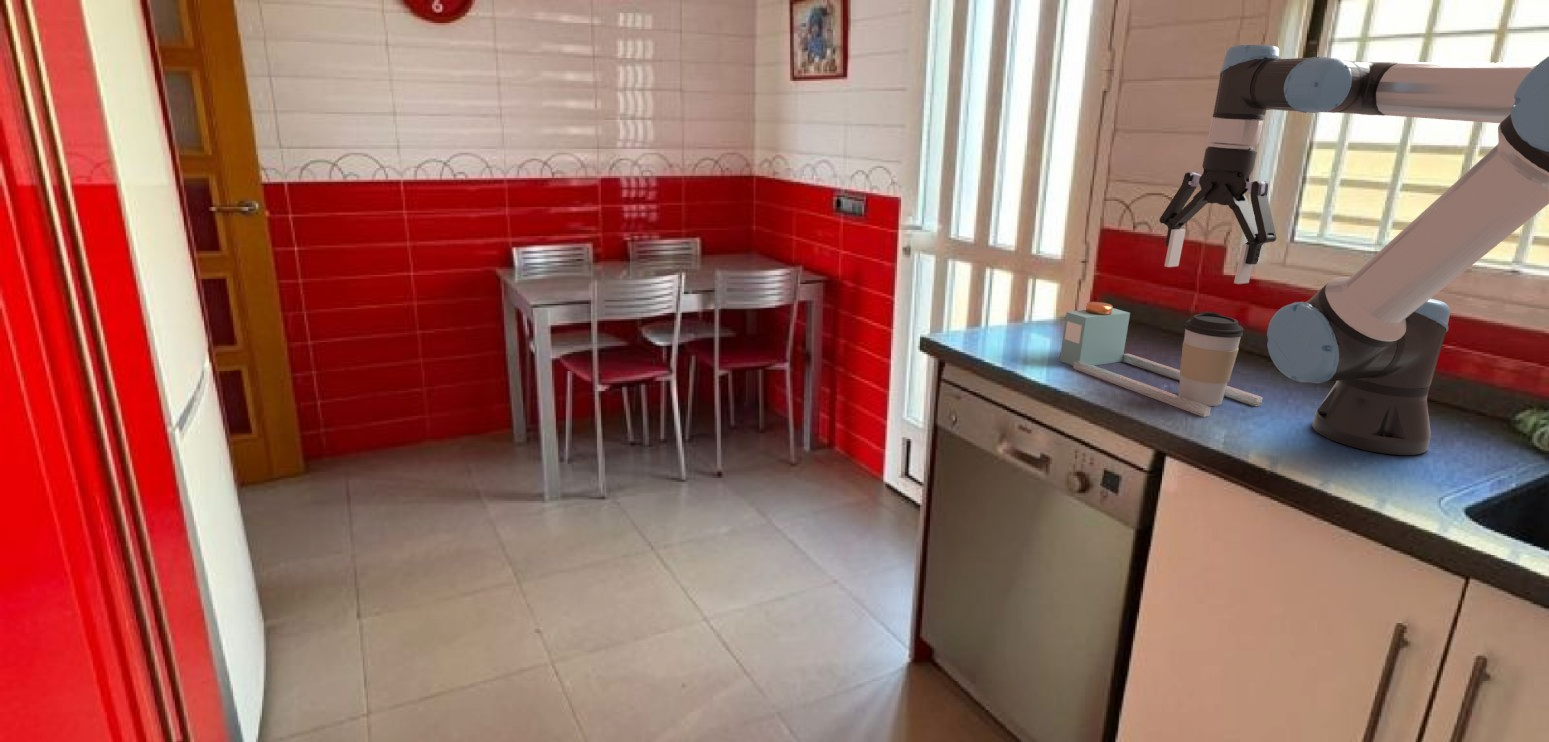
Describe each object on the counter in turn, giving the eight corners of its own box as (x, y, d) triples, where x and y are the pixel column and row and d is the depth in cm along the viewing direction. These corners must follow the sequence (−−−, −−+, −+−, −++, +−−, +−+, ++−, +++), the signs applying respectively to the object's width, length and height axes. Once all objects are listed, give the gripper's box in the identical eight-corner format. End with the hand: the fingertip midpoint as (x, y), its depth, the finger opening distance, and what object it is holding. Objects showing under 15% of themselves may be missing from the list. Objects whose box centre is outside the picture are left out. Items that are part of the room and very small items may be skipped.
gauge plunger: (1113, 338, 166) (1118, 306, 164) (1095, 340, 164) (1100, 308, 162) (1094, 332, 170) (1098, 301, 168) (1076, 334, 168) (1081, 303, 166)
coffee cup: (1235, 410, 143) (1254, 324, 138) (1179, 405, 144) (1195, 320, 139) (1219, 393, 151) (1235, 312, 146) (1165, 388, 152) (1180, 308, 148)
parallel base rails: (1260, 405, 145) (1262, 397, 145) (1203, 417, 139) (1205, 408, 138) (1127, 360, 169) (1128, 353, 169) (1073, 368, 163) (1074, 361, 162)
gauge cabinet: (1122, 361, 169) (1130, 312, 166) (1077, 367, 163) (1085, 317, 160) (1102, 354, 173) (1110, 307, 170) (1058, 360, 168) (1065, 312, 165)
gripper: (1322, 153, 128) (1288, 289, 135) (1182, 140, 149) (1159, 258, 156) (1291, 153, 125) (1258, 292, 132) (1152, 140, 146) (1130, 261, 153)
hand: (1204, 274), depth 144 cm, fingers open, 13 cm apart
